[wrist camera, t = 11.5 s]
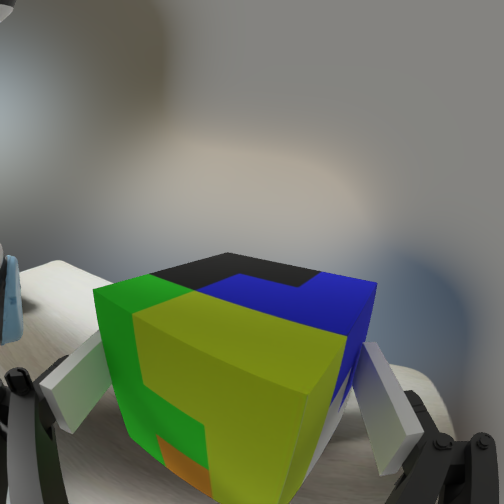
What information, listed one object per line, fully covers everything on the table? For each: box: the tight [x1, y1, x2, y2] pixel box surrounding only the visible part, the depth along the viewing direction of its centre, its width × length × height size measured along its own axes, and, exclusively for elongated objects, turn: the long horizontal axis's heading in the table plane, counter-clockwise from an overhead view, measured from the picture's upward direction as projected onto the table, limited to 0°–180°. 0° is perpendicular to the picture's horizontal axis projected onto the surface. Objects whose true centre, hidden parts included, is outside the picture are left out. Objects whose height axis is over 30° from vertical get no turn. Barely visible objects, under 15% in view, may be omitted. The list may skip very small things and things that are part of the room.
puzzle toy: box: [93, 253, 377, 504], centre depth 14 cm, size 10×10×10 cm
